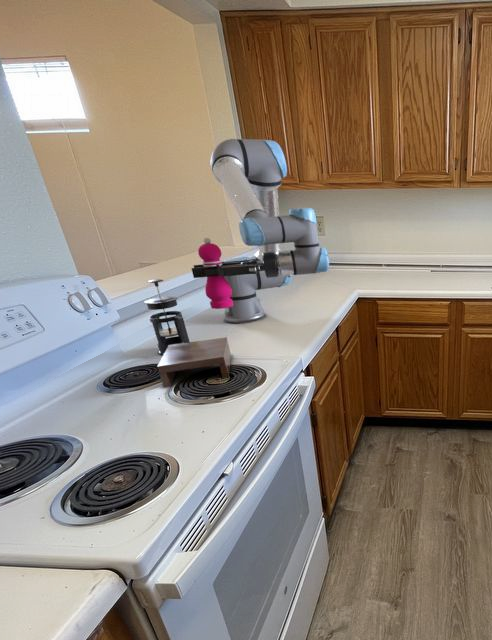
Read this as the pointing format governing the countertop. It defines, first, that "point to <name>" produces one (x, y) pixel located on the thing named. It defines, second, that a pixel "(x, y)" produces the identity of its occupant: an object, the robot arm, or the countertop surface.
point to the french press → (156, 321)
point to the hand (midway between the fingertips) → (194, 271)
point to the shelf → (194, 358)
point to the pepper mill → (215, 277)
